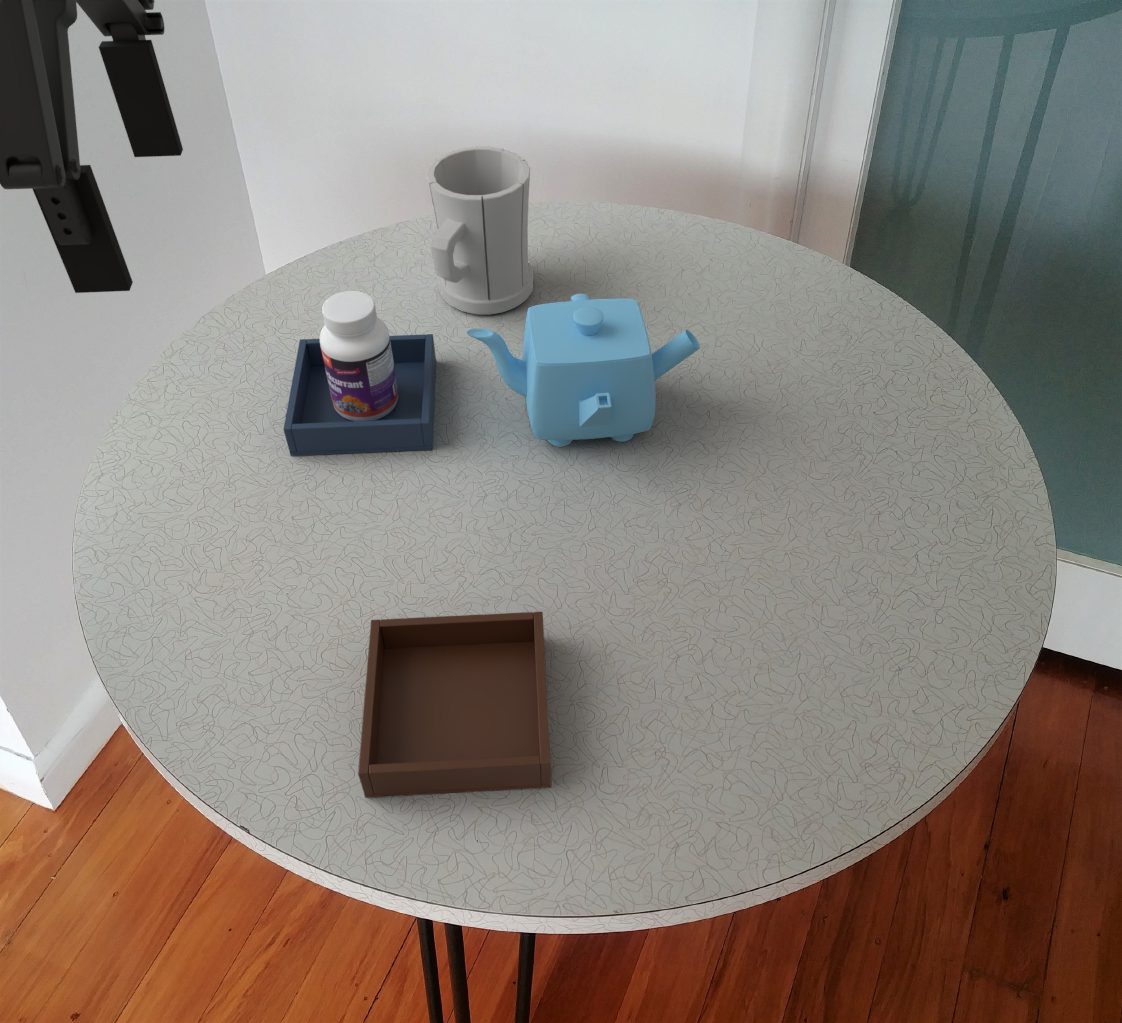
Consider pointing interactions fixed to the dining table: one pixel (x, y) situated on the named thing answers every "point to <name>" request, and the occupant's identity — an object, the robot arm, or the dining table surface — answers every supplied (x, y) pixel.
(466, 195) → the cup
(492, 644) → the near bin
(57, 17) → the robot arm
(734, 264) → the dining table surface
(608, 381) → the teapot
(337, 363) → the pill bottle
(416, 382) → the far bin
